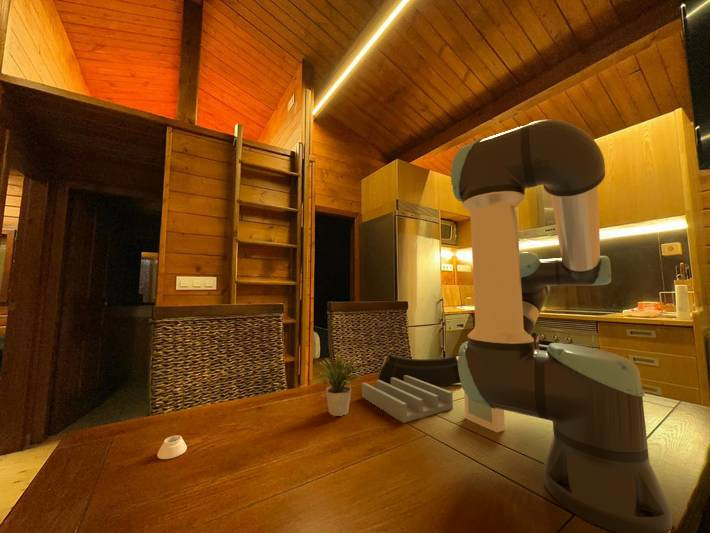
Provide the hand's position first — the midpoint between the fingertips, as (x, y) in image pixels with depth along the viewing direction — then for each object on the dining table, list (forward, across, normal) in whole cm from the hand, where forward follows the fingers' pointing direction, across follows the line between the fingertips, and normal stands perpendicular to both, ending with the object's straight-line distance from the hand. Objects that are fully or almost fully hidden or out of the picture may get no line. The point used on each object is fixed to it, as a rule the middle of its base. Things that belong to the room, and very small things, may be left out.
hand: (490, 380), depth 74 cm
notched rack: (+16, +20, +2) cm, 25 cm away
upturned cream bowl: (+57, +23, +43) cm, 75 cm away
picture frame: (+10, 0, -4) cm, 11 cm away
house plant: (+31, +23, +17) cm, 42 cm away
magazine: (+5, +30, -9) cm, 31 cm away
